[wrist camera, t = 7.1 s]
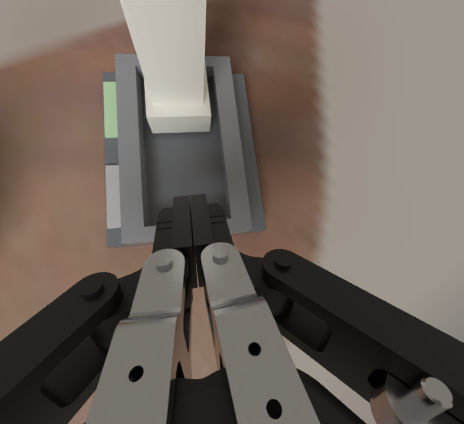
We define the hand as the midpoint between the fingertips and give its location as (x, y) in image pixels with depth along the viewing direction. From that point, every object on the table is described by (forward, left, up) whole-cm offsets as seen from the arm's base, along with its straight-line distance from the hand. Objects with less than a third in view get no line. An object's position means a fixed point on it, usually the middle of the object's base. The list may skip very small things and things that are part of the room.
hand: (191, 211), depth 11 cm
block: (0, +8, -3) cm, 9 cm away
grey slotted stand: (0, +5, -5) cm, 7 cm away
